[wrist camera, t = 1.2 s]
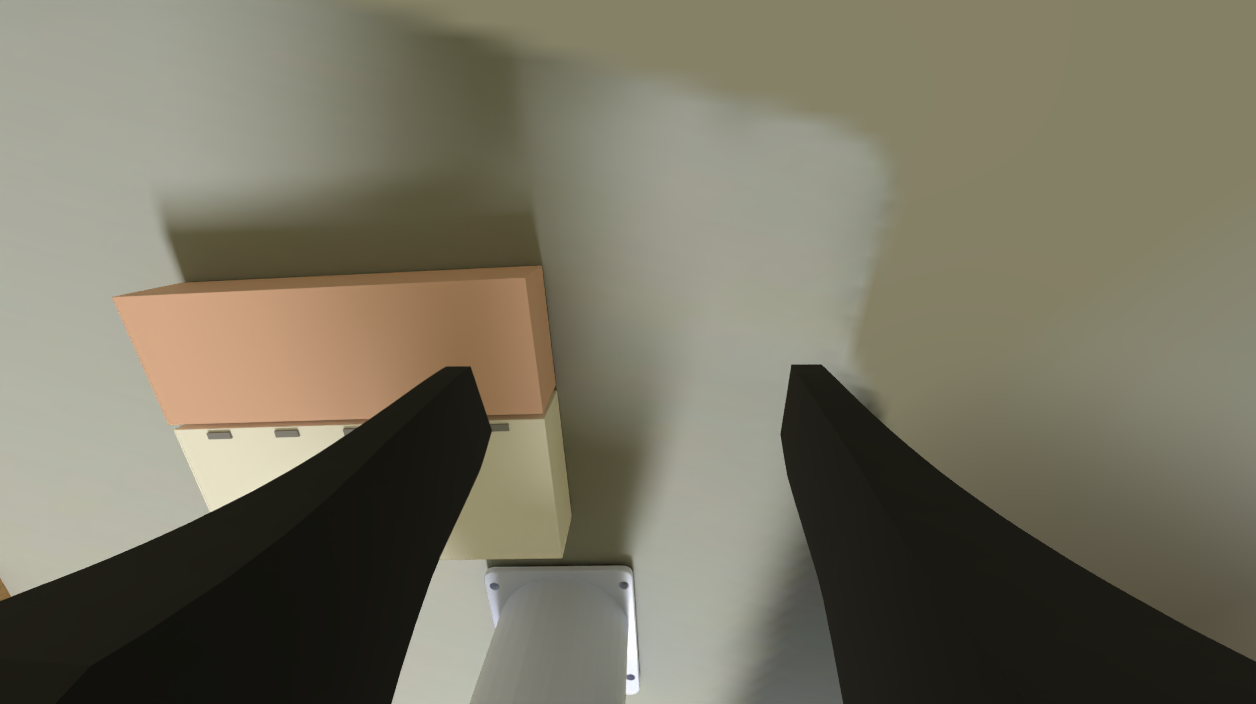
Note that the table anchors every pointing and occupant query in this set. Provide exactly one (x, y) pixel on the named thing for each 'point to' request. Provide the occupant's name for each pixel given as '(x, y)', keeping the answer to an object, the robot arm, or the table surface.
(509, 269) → the block
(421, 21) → the table surface
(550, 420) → the board
